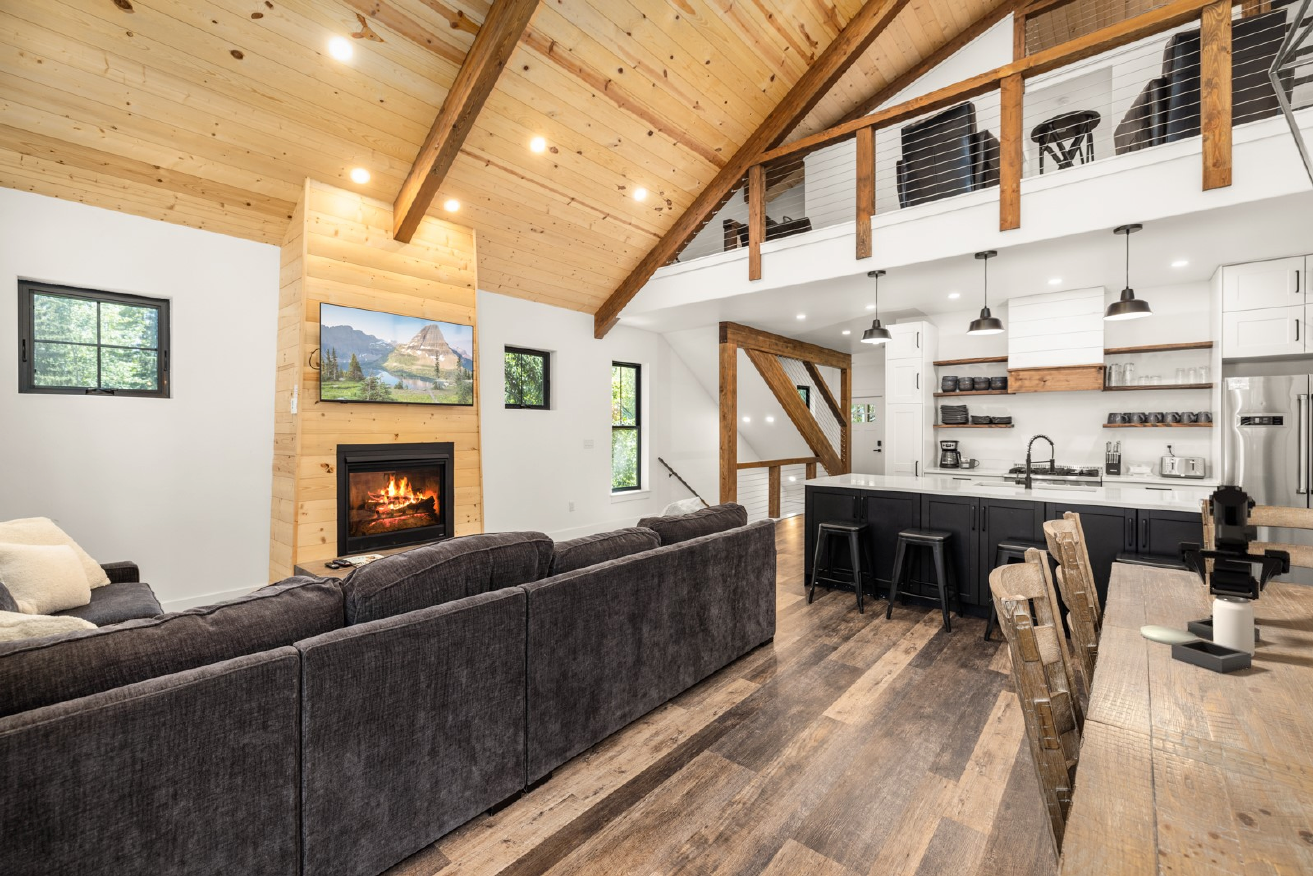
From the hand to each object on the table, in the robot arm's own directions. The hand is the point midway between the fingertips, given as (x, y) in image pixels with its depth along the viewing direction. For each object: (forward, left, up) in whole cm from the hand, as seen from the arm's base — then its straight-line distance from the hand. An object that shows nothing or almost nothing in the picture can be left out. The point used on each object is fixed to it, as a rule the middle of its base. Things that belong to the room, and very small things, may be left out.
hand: (1232, 587), depth 134 cm
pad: (+10, -7, -13) cm, 18 cm away
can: (+6, +4, -13) cm, 15 cm away
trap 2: (-2, -3, -13) cm, 14 cm away
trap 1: (+18, +6, -13) cm, 23 cm away
